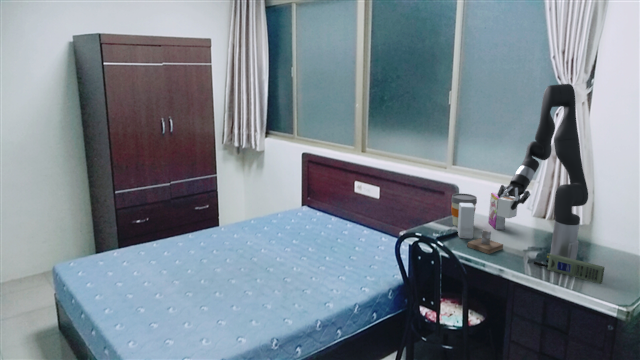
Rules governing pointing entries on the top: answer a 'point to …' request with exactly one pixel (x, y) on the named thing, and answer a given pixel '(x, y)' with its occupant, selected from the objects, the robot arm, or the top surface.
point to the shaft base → (484, 247)
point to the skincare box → (466, 220)
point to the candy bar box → (495, 214)
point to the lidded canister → (460, 199)
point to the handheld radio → (574, 268)
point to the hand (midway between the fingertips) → (505, 207)
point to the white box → (506, 207)
